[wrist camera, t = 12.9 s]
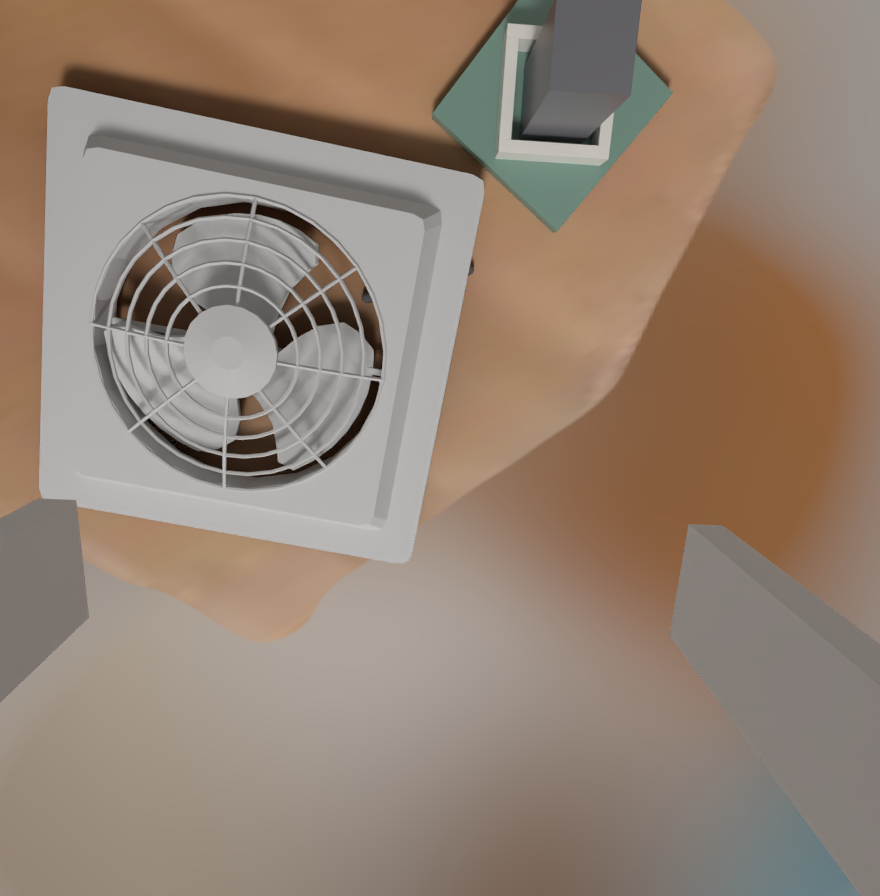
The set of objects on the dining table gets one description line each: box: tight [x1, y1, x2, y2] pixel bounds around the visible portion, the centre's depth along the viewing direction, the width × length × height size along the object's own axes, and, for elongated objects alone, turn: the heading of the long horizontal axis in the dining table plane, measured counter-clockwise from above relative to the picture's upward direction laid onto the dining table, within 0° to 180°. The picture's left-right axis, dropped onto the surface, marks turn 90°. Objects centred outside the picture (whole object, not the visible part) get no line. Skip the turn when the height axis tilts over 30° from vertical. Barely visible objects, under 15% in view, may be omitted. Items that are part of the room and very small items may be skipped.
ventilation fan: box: [39, 86, 484, 564], centre depth 42 cm, size 30×6×30 cm
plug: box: [519, 0, 642, 143], centre depth 36 cm, size 4×5×10 cm
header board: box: [432, 0, 673, 233], centre depth 40 cm, size 12×12×3 cm
